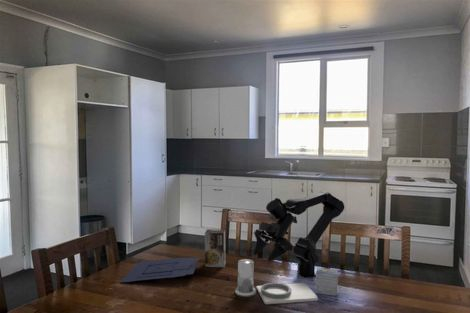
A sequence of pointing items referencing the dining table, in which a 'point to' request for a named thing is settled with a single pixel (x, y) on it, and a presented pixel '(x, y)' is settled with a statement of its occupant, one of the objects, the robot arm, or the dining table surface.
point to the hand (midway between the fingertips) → (261, 257)
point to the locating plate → (295, 296)
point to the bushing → (245, 278)
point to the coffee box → (214, 248)
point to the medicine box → (327, 281)
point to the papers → (162, 269)
